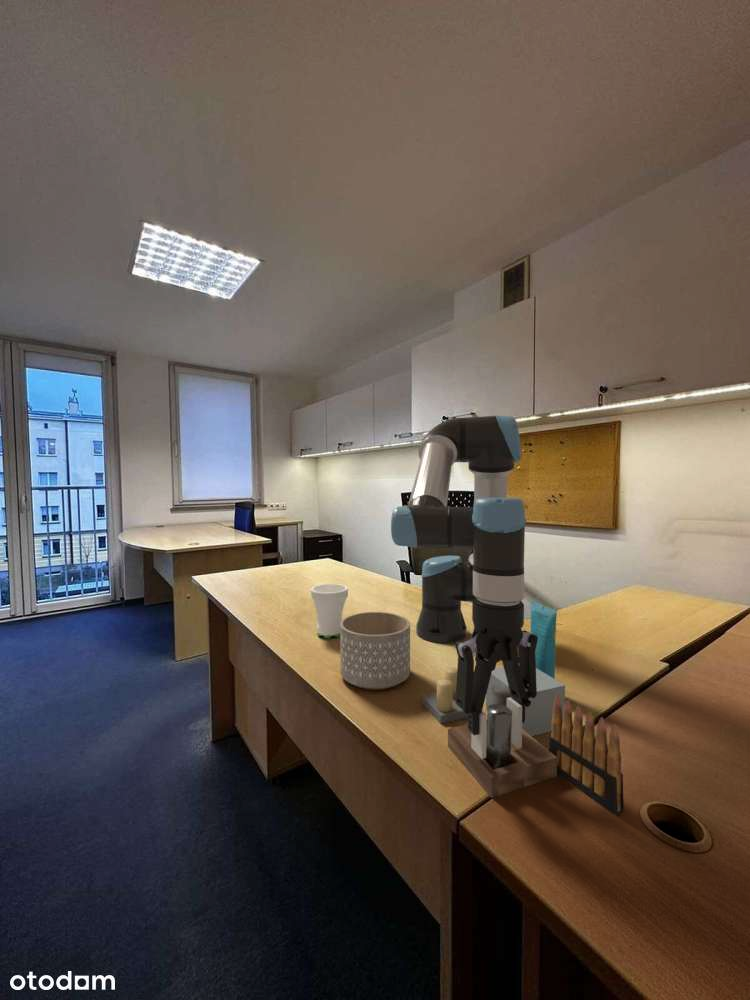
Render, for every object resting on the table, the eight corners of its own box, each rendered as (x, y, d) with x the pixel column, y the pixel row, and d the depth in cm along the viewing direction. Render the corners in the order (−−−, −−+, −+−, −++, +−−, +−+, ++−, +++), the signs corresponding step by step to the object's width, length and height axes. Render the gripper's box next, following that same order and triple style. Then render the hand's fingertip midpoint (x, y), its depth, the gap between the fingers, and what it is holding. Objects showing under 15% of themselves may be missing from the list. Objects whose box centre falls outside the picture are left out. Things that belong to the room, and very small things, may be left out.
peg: (499, 764, 63) (501, 702, 63) (515, 779, 59) (517, 714, 59) (480, 769, 62) (482, 706, 61) (495, 785, 58) (497, 718, 58)
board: (454, 694, 84) (454, 664, 84) (476, 715, 76) (477, 682, 76) (421, 702, 81) (421, 671, 81) (440, 723, 74) (440, 689, 73)
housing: (526, 700, 82) (526, 662, 81) (564, 727, 72) (565, 685, 72) (485, 709, 78) (486, 670, 78) (520, 740, 69) (521, 695, 69)
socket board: (505, 730, 71) (505, 677, 71) (556, 776, 60) (557, 712, 60) (447, 746, 67) (448, 688, 67) (491, 798, 56) (492, 729, 56)
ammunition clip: (547, 767, 62) (548, 692, 62) (555, 763, 63) (556, 690, 63) (616, 816, 53) (618, 729, 52) (624, 811, 54) (625, 725, 53)
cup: (328, 625, 126) (328, 581, 126) (355, 633, 120) (355, 586, 119) (303, 636, 117) (302, 589, 117) (330, 645, 110) (330, 595, 110)
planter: (424, 676, 92) (424, 622, 92) (374, 702, 81) (374, 642, 80) (375, 654, 104) (375, 607, 104) (326, 675, 93) (325, 622, 92)
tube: (564, 699, 82) (565, 608, 81) (548, 704, 80) (549, 611, 79) (535, 683, 89) (536, 599, 88) (520, 688, 87) (520, 602, 86)
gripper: (529, 587, 66) (528, 721, 67) (430, 598, 60) (430, 746, 61) (565, 599, 59) (563, 748, 60) (457, 613, 53) (456, 780, 54)
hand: (496, 747), depth 60 cm, fingers open, 6 cm apart
